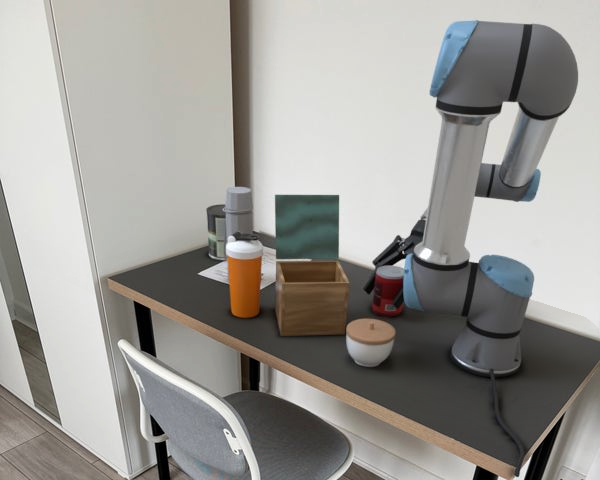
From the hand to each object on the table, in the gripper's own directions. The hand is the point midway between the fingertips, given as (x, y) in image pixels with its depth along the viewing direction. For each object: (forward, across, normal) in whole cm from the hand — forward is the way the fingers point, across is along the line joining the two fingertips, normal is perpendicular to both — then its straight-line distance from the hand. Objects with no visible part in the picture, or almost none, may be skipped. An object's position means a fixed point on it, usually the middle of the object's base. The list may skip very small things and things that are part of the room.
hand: (380, 298), depth 150 cm
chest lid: (-2, +14, +21) cm, 26 cm away
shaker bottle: (+23, +20, +17) cm, 35 cm away
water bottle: (+16, +38, +10) cm, 43 cm away
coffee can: (+10, +57, +4) cm, 58 cm away
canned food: (+1, 0, -5) cm, 5 cm away
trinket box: (+17, -16, +11) cm, 25 cm away
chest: (+16, +6, +10) cm, 20 cm away
